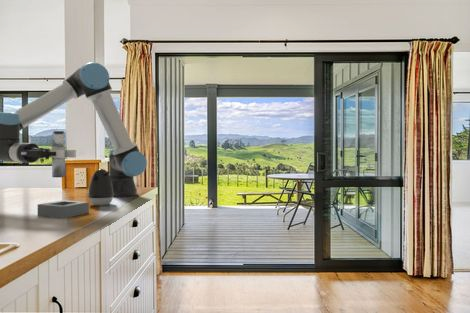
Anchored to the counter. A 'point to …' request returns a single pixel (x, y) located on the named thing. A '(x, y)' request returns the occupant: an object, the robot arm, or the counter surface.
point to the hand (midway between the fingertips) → (69, 153)
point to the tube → (58, 163)
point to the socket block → (63, 209)
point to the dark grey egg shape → (100, 188)
